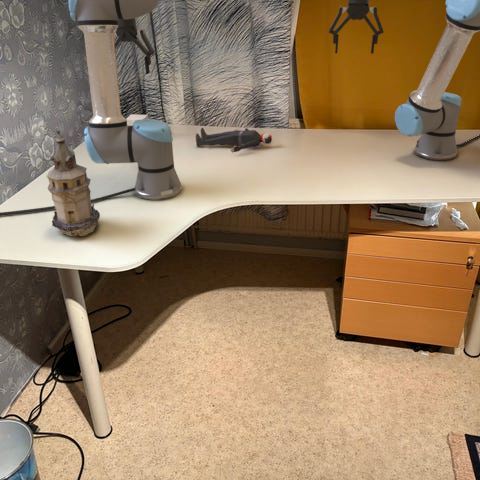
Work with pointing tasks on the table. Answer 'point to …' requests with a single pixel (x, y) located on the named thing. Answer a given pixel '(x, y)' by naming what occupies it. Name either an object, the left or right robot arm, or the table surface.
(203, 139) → the toy
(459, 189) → the table surface
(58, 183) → the miniature building
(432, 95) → the right robot arm
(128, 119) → the brick
